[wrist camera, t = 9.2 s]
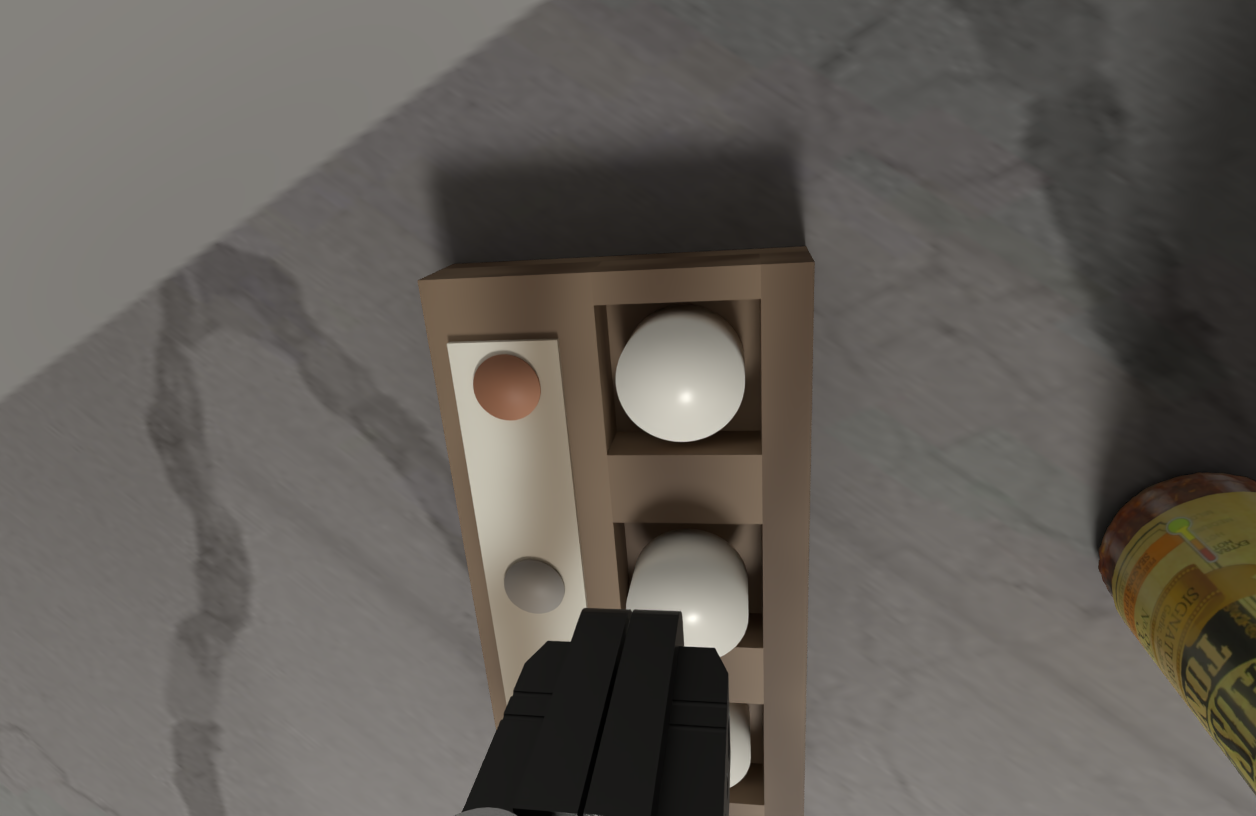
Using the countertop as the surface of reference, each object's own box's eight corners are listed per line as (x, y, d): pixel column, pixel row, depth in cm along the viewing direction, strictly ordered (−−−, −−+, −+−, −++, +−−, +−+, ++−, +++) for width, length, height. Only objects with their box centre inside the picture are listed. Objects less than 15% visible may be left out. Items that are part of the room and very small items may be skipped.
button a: (749, 677, 28) (750, 715, 26) (750, 755, 30) (751, 796, 28) (648, 672, 29) (642, 709, 27) (654, 749, 30) (649, 789, 28)
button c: (743, 301, 23) (743, 317, 21) (745, 417, 24) (746, 441, 22) (621, 306, 24) (610, 321, 22) (629, 419, 25) (620, 442, 23)
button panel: (805, 246, 23) (815, 264, 20) (798, 764, 31) (804, 834, 28) (453, 263, 25) (413, 282, 22) (528, 747, 33) (507, 810, 30)
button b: (747, 529, 24) (747, 562, 22) (748, 627, 26) (749, 665, 24) (630, 528, 25) (621, 559, 23) (638, 623, 26) (630, 660, 24)
